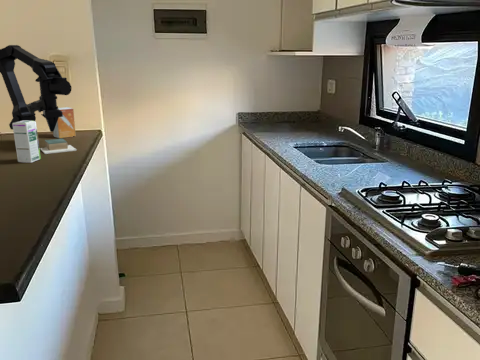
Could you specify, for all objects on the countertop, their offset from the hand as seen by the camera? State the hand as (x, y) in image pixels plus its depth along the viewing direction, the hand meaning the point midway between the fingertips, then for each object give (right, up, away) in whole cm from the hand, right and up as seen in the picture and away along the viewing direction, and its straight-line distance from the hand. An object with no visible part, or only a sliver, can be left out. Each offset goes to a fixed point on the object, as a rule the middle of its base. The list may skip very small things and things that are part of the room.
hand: (51, 131), depth 191 cm
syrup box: (+1, -13, -22) cm, 25 cm away
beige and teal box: (+1, -5, 0) cm, 5 cm away
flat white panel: (+4, -8, -4) cm, 10 cm away
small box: (-3, 0, +23) cm, 23 cm away
